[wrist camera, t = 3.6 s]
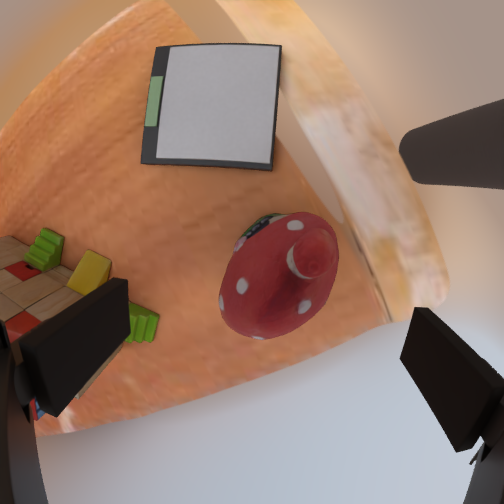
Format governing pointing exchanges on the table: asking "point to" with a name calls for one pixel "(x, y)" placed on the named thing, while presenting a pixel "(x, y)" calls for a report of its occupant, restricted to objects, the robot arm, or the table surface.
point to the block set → (55, 291)
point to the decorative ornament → (279, 275)
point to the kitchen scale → (213, 106)
